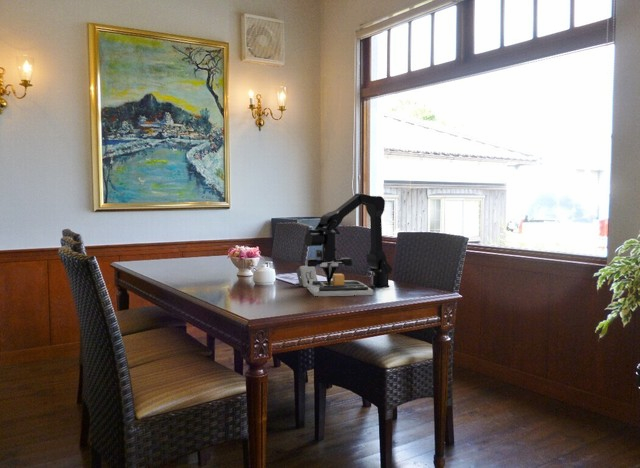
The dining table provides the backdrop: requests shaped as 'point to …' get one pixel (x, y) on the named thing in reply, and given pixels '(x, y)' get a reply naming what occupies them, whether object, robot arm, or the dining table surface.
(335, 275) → the orange cube block
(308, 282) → the electrical switch
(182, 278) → the dining table surface
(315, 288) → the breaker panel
